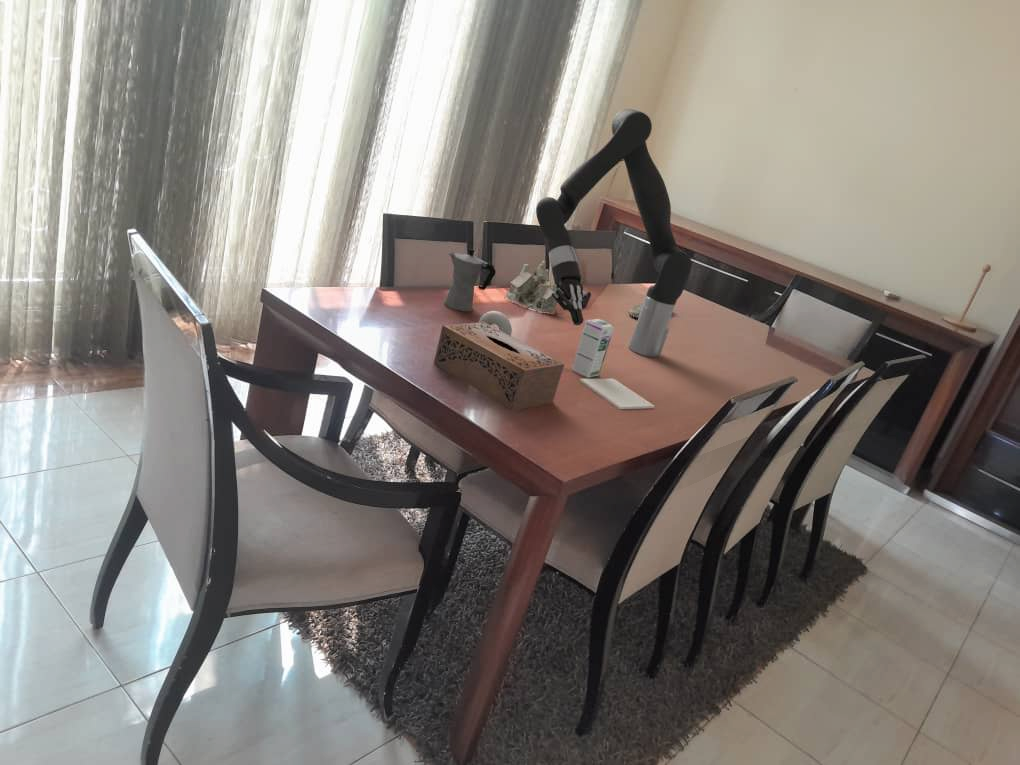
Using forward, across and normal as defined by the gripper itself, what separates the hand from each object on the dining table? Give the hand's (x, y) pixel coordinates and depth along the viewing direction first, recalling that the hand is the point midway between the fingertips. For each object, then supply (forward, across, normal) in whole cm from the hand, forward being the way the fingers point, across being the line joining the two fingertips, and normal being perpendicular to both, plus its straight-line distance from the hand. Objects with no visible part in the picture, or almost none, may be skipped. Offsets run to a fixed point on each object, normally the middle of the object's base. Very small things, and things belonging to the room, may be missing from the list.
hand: (578, 323), depth 200 cm
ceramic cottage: (-25, +20, +41) cm, 52 cm away
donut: (+2, -21, +14) cm, 25 cm away
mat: (+22, 0, -7) cm, 23 cm away
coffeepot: (-20, -12, +35) cm, 42 cm away
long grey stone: (-24, +79, +41) cm, 92 cm away
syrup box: (+13, 0, +2) cm, 14 cm away
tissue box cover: (+18, -34, -2) cm, 38 cm away
